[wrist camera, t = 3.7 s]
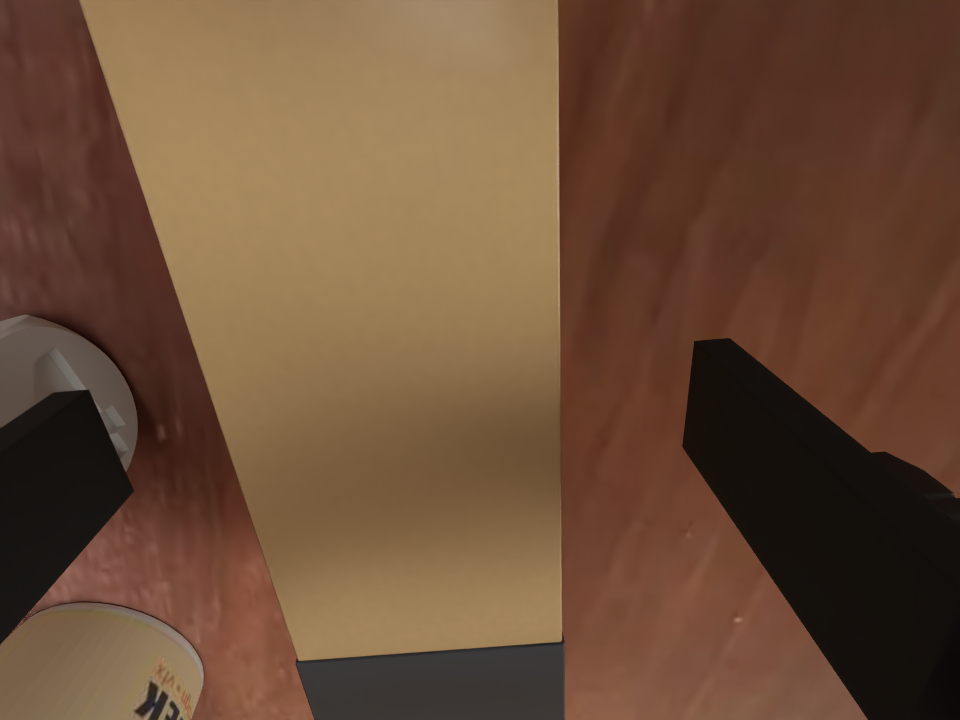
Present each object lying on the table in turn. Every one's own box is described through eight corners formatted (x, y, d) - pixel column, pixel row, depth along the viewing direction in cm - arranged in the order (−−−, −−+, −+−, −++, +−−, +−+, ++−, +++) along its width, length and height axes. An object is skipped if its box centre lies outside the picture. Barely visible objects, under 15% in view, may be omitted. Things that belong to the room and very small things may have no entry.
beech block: (263, 39, 13) (55, -44, 6) (512, 19, 13) (563, -85, 6) (369, 539, 19) (322, 747, 13) (531, 527, 19) (565, 730, 13)
